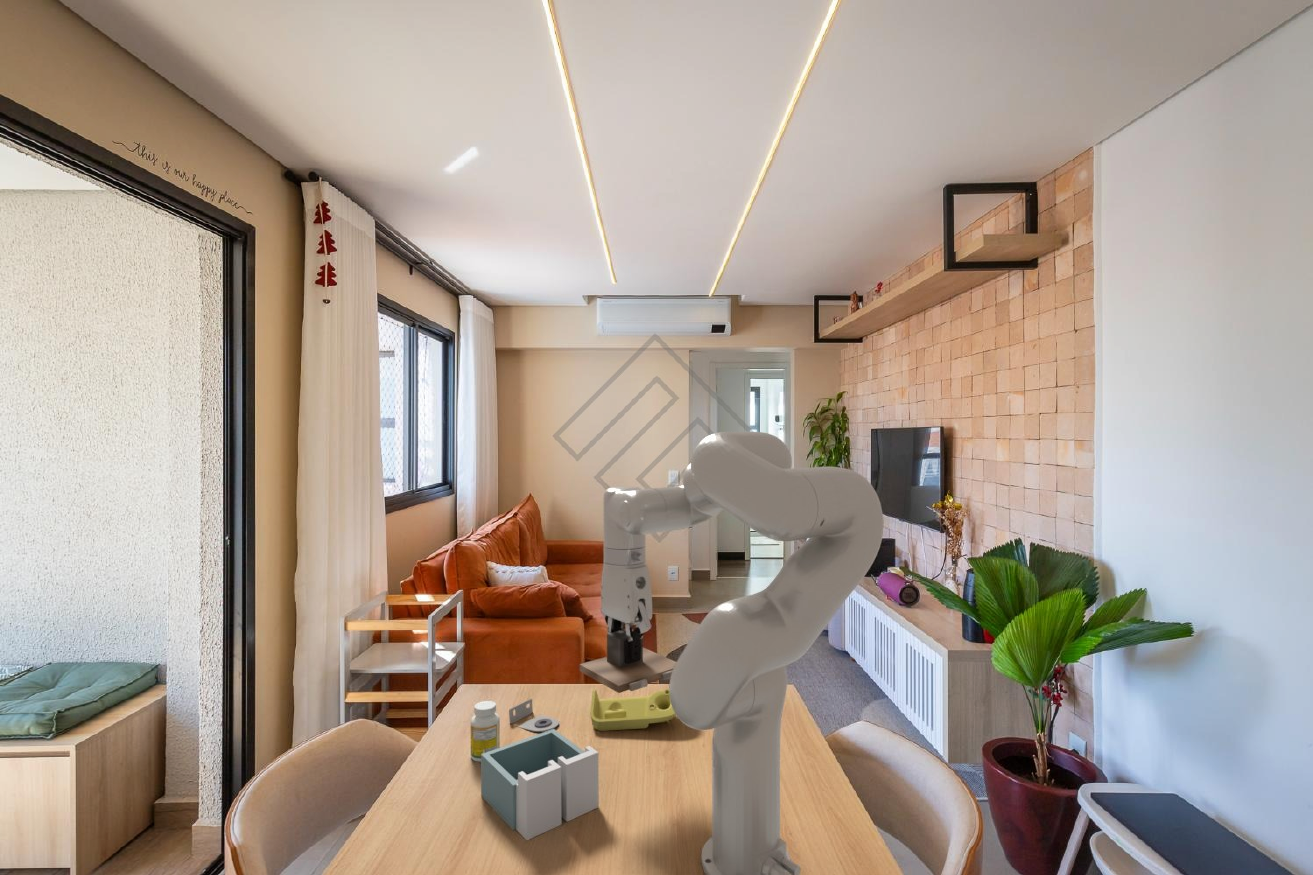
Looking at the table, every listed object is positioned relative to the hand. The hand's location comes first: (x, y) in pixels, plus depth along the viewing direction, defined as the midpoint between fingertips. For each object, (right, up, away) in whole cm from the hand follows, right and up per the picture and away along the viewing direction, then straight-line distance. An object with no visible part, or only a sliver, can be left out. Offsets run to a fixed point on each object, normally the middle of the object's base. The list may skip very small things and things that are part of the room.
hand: (624, 657), depth 109 cm
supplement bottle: (-27, -22, +7) cm, 35 cm away
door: (+1, -2, -2) cm, 3 cm away
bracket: (-20, -22, +21) cm, 36 cm away
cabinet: (-14, -21, -7) cm, 26 cm away
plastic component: (+2, -22, +21) cm, 30 cm away
